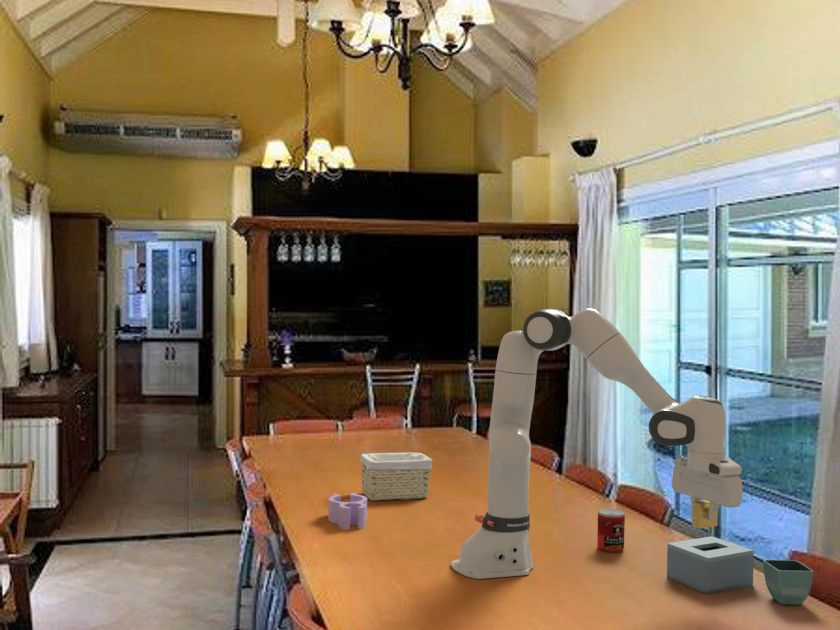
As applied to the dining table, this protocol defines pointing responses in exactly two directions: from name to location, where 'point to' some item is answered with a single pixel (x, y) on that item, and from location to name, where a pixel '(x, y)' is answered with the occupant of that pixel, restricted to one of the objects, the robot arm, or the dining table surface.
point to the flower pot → (788, 580)
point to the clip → (348, 511)
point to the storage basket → (395, 475)
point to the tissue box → (710, 564)
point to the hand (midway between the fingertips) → (704, 517)
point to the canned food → (611, 530)
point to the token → (702, 515)
